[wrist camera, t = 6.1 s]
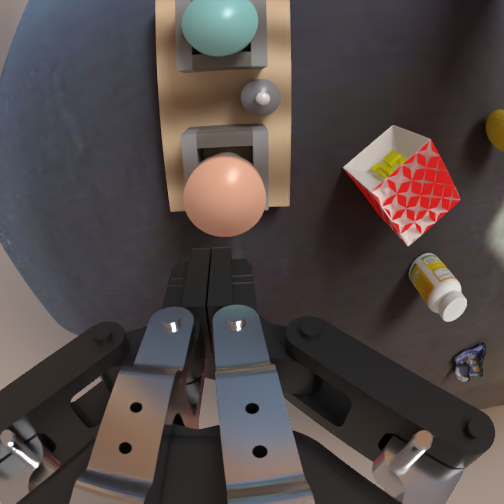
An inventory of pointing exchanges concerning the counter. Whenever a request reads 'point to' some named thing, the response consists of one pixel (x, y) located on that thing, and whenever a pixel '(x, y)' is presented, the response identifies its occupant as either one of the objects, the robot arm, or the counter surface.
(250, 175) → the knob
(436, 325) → the counter surface
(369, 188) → the red patterned cube box
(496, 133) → the lemon
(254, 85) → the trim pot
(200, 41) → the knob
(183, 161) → the mount
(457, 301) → the supplement bottle
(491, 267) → the counter surface
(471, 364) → the snack package
